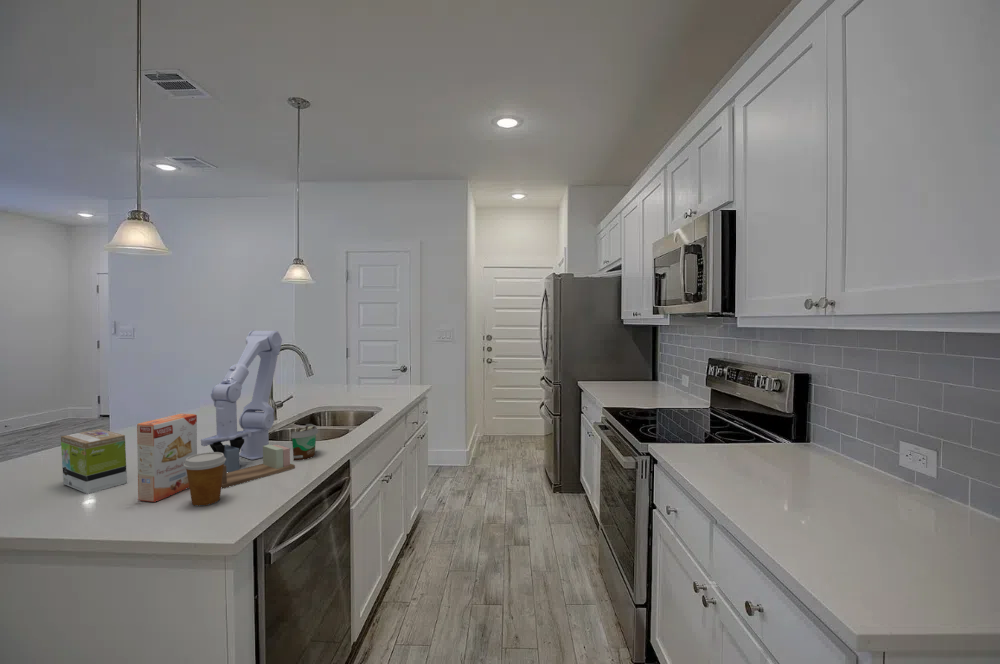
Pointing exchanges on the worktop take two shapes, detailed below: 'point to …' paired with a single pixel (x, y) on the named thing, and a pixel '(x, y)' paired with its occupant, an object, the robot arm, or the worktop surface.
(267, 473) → the shelf
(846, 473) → the worktop surface
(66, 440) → the tea box
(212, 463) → the disposable coffee cup
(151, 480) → the cracker box
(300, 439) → the food container
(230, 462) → the grey rectangular block
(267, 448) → the book row
